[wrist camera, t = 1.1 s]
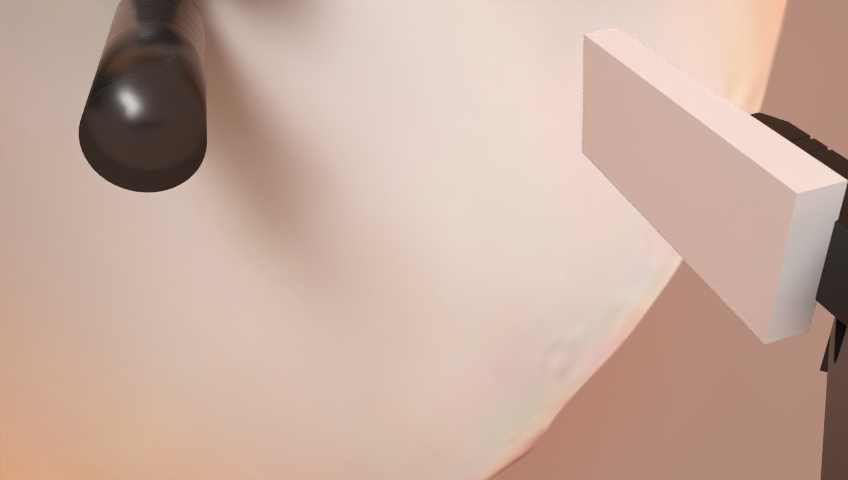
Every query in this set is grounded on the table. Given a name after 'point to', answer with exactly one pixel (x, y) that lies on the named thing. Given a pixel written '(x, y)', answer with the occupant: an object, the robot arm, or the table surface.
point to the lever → (148, 97)
